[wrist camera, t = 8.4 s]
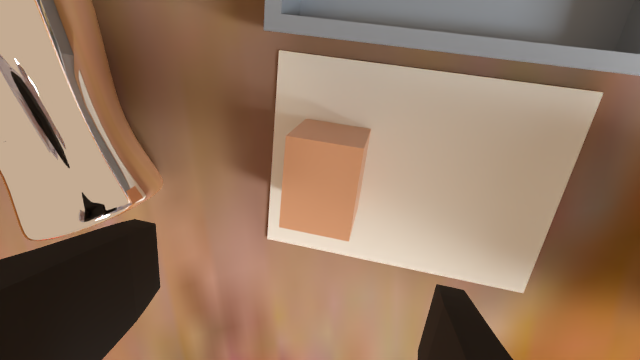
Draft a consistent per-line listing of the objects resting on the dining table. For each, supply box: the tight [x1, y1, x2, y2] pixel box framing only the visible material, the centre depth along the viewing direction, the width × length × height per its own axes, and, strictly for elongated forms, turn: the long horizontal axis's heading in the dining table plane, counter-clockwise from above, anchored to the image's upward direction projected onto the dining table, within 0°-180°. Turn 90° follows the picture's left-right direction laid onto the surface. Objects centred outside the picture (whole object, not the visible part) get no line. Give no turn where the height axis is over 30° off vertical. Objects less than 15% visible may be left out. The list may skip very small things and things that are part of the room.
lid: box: [267, 50, 603, 293], centre depth 16 cm, size 13×10×4 cm
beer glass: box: [0, 0, 163, 241], centre depth 15 cm, size 7×7×15 cm
